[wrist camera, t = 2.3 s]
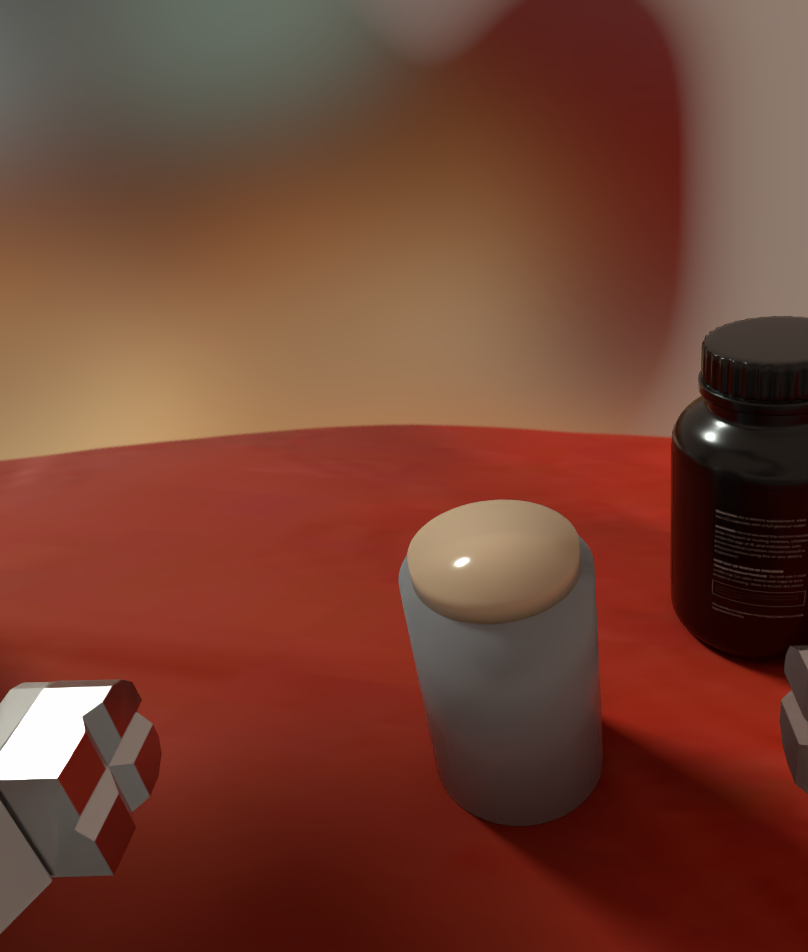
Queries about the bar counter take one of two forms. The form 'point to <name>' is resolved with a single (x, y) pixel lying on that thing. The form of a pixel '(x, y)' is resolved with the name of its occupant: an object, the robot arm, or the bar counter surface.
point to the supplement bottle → (744, 491)
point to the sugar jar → (507, 658)
